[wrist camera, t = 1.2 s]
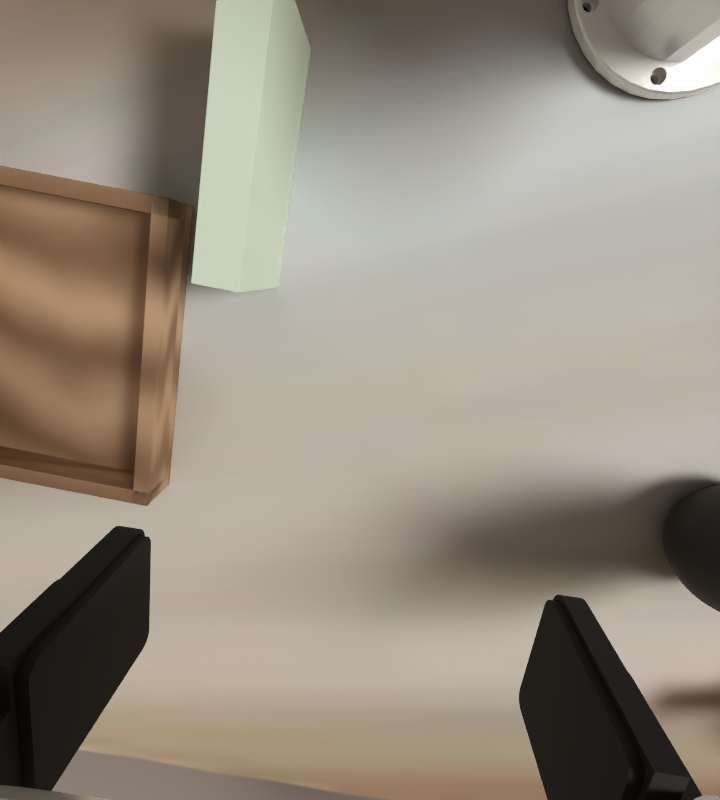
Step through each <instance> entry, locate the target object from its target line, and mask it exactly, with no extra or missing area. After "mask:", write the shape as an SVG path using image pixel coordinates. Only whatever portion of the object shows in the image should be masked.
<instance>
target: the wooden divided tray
mask: <svg viewBox="0 0 720 800" xmlns="http://www.w3.org/2000/svg"><path fill="white" fill-rule="evenodd" d="M192 213H193V207H192V206H189V205H186V204H184V203H181V202H178V201H175V200H172V199H169V198H164V197H159V196H154V195H148V194H143V193H138V192H133V191H128V190H123V189H118V188H112V187H107V186H102V185H97V184H92V183H87V182H82V181H77V180H71V179H66V178H61V177H56V176H51V175H46V174H41V173H35V172H30V171H25V170H20V169H15V168H10V167H5V166H0V478H5V479H11V480H16V481H21V482H26V483H31V484H36V485H41V486H47V487H52V488H57V489H62V490H67V491H72V492H77V493H83V494H88V495H93V496H98V497H103V498H108V499H114V500H119V501H124V502H129V503H134V504H139V505H144V506H147V505H148V504H149V503H150V502H151V501H152V500H153V499H154V498H155V497H156V496H157V495H158V494H159V493H160V492H161V491H162V490H164V489H165V488H166V487H167V486H168V485H169V479H170V467H171V456H172V444H173V432H174V421H175V409H176V398H177V386H178V375H179V363H180V352H181V340H182V329H183V317H184V305H185V294H186V282H187V271H188V259H189V248H190V236H191V225H192Z"/></svg>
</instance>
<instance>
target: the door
mask: <svg viewBox="0 0 720 800" xmlns="http://www.w3.org/2000/svg"><path fill="white" fill-rule="evenodd" d="M310 54H311V48H310V45H309V41H308V38H307V35H306V32H305V29H304V26H303V23H302V20H301V17H300V14H299V11H298V8H297V5H296V2H295V0H216V9H215V20H214V31H213V43H212V54H211V65H210V76H209V88H208V99H207V110H206V121H205V133H204V144H203V155H202V166H201V177H200V189H199V200H198V211H197V222H196V234H195V245H194V256H193V267H192V279H191V283H193V284H198V285H203V286H208V287H213V288H218V289H224V290H229V291H234V292H247V291H254V290H262V289H269V288H277V287H279V279H280V272H281V265H282V258H283V250H284V243H285V236H286V228H287V221H288V214H289V207H290V199H291V192H292V185H293V178H294V170H295V163H296V156H297V148H298V141H299V134H300V127H301V119H302V112H303V105H304V98H305V90H306V83H307V76H308V69H309V61H310Z"/></svg>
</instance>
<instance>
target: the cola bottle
mask: <svg viewBox="0 0 720 800" xmlns="http://www.w3.org/2000/svg"><path fill="white" fill-rule="evenodd" d="M663 543H664V549H665V552H666V555H667V558H668V560H669V563H670V565H671V567H672V568H673V570H674V572H675V573H676V575H677V576H678V578H679V579H680V581H681V582H682V583H683V584H684V586H685V587H686V588H687V589H688V590H689V591H690V592H691V593H692V594H693V595H695V596H696V597H697V598H698V599H700V600H701V601H702V602H704V603H705V604H707V605H708V606H710V607H712V608H714V609H716V610H717V611H719V612H720V485H717V486H711V487H707V488H704V489H701V490H699V491H696V492H694V493H692V494H691V495H689V496H687V497H686V498H685V499H683V500H682V501H681V502H680V503H679V504H678V505H677V506H676V507H675V508H674V509H673V511H672V512H671V514H670V515H669V517H668V519H667V521H666V524H665V528H664V533H663Z"/></svg>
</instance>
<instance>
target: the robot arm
mask: <svg viewBox="0 0 720 800" xmlns="http://www.w3.org/2000/svg"><path fill="white" fill-rule="evenodd" d="M583 7H586V8H587V10H588V12H586V11H584V9H583ZM568 12H569V16H570V20H571V23H572V27H573V31H574V35H575V37H576V39H577V41H578V43H579V45H580V47H581V50H582V52H583V54H584V55H585V57H586V58H587V59H588V61H589V62H590V63H591V65H592V66H593V67H594V69H595V70H596V71H597V72H598V73H599V74H600V75H602V76H603V77H604V78H605V79H606V80H607V81H609V82H610V83H611V84H612V85H614V86H616V87H618V88H620V89H622V90H624V91H626V92H628V93H630V94H633V95H637V96H641V97H645V98H649V99H677V98H682V97H688V96H693V95H696V94H698V93H701V92H704V91H706V90H709V89H712V88H714V87H716V86H718V85H719V84H720V0H568ZM650 78H651V79H653V81H654V84H652V82H651V80H650ZM150 555H151V540H150V538H149V537H145V535H144V531H143V530H141V529H135V528H129V527H123V526H116V527H115V528H113V529H112V530H111V531H110V532H109V533H108V534H107V535H106V536H105V537H104V538H103V539H102V540H101V541H100V542H99V543H98V544H96V545H95V546H94V547H93V548H92V549H91V550H90V551H89V552H88V553H87V554H86V555H85V556H84V557H83V558H82V559H81V560H80V561H79V562H77V563H76V564H75V565H74V566H73V567H72V568H71V569H70V570H69V571H68V572H67V573H66V574H65V575H64V576H63V577H62V578H61V579H59V580H57V581H56V582H54V583H53V584H52V585H50V586H49V587H48V588H47V589H46V590H45V591H44V592H43V593H42V594H41V595H40V596H39V597H38V598H37V599H36V600H35V601H33V602H32V603H31V604H30V605H29V606H28V607H27V608H26V609H25V610H24V611H23V612H22V613H21V614H20V615H19V616H17V617H16V618H15V619H14V620H13V621H12V622H11V623H10V624H9V625H8V626H7V627H6V628H5V629H4V630H3V631H2V632H0V800H111V799H104V798H97V797H90V796H83V795H75V794H69V793H61V792H54V791H51V790H52V789H53V787H54V786H55V784H56V783H57V781H58V779H59V778H60V776H61V775H62V773H63V772H64V770H65V769H66V767H67V766H68V764H69V763H70V761H71V759H72V758H73V756H74V755H75V753H76V752H77V750H78V749H79V747H80V745H81V744H82V742H83V741H84V739H85V738H86V736H87V735H88V733H89V731H90V730H91V728H92V727H93V725H94V724H95V722H96V721H97V719H98V717H99V716H100V714H101V713H102V711H103V710H104V708H105V707H106V705H107V704H108V702H109V700H110V699H111V697H112V696H113V694H114V693H115V691H116V690H117V688H118V686H119V685H120V683H121V682H122V680H123V679H124V677H125V676H126V674H127V672H128V671H129V669H130V668H131V666H132V665H133V663H134V662H135V660H136V658H137V657H138V655H139V654H140V652H141V651H142V649H143V647H144V646H145V643H146V641H147V638H148V633H149V605H150ZM519 703H520V709H521V713H522V716H523V719H524V723H525V726H526V729H527V732H528V736H529V739H530V742H531V746H532V749H533V752H534V756H535V759H536V762H537V766H538V769H539V772H540V776H541V779H542V782H543V786H544V789H545V792H546V796H547V799H548V800H720V797H717V796H709V795H703V796H702V794H701V792H700V791H699V789H698V787H697V786H696V784H695V782H694V781H693V779H692V777H691V776H690V774H689V772H688V771H687V769H686V767H685V766H684V764H683V762H682V761H681V759H680V757H679V756H678V754H677V752H676V751H675V749H674V747H673V746H672V744H671V742H670V740H669V739H668V737H667V735H666V734H665V732H664V730H663V729H662V727H661V725H660V724H659V722H658V720H657V719H656V717H655V715H654V714H653V712H652V710H651V709H650V707H649V705H648V704H647V702H646V700H645V699H644V697H643V695H642V694H641V692H640V690H639V688H638V687H637V685H636V683H635V682H634V680H633V678H632V677H631V675H630V674H629V673H628V671H627V670H626V668H625V667H624V665H623V663H622V662H621V660H620V658H619V657H618V655H617V653H616V652H615V650H614V648H613V647H612V645H611V643H610V641H609V640H608V638H607V636H606V635H605V633H604V631H603V630H602V628H601V626H600V625H599V623H598V621H597V620H596V618H595V616H594V614H593V613H592V611H591V609H590V608H589V606H588V604H587V603H586V601H585V600H584V599H582V598H576V597H570V596H563V595H556V596H555V597H554V599H553V600H548V601H547V602H546V604H545V606H544V610H543V613H542V616H541V620H540V623H539V627H538V630H537V633H536V637H535V640H534V644H533V647H532V650H531V654H530V657H529V661H528V664H527V667H526V671H525V674H524V677H523V681H522V684H521V688H520V692H519Z"/></svg>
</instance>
